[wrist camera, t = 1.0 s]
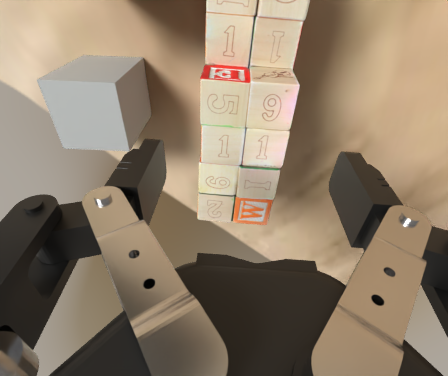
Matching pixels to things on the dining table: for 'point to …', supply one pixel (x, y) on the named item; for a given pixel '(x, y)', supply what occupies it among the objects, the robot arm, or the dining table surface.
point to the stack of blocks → (246, 105)
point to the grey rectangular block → (98, 102)
